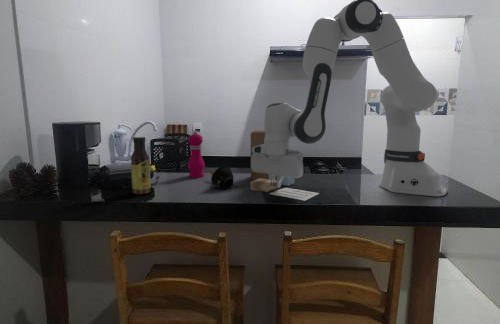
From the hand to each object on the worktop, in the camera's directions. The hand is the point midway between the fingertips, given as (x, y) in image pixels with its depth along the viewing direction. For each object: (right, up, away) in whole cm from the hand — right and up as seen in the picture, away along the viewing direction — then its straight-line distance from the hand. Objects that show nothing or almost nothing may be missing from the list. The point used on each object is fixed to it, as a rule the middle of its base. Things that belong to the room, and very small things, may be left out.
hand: (276, 186), depth 122 cm
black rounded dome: (-21, 0, +10) cm, 23 cm away
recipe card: (+6, -2, -4) cm, 8 cm away
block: (-3, +2, +21) cm, 22 cm away
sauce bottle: (-48, -2, -1) cm, 48 cm away
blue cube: (+5, 0, +10) cm, 11 cm away
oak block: (-4, -2, +3) cm, 6 cm away
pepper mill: (-33, +2, +26) cm, 42 cm away
